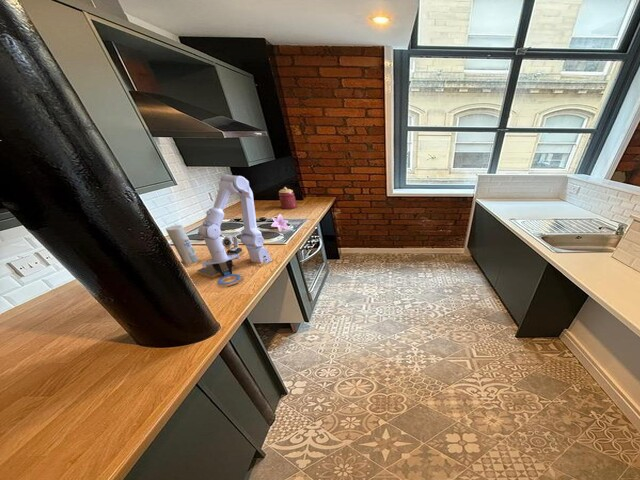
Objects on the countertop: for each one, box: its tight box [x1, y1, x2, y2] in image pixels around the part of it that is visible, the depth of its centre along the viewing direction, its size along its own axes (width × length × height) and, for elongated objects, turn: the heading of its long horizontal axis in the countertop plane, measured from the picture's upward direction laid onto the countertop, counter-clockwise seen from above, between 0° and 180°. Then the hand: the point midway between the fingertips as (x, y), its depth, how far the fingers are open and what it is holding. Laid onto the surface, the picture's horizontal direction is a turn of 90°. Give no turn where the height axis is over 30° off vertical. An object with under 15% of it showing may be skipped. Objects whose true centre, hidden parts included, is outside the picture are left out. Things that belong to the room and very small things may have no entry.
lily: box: [270, 213, 290, 233], centre depth 173 cm, size 12×12×10 cm
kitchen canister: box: [278, 186, 298, 210], centre depth 218 cm, size 13×13×18 cm
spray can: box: [165, 224, 199, 265], centre depth 125 cm, size 6×6×20 cm
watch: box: [222, 235, 243, 255], centre depth 137 cm, size 6×8×11 cm
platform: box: [196, 262, 237, 277], centre depth 123 cm, size 12×12×5 cm
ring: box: [217, 269, 242, 288], centre depth 116 cm, size 12×9×3 cm
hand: (227, 275), depth 119 cm, fingers closed on ring, 2 cm apart
